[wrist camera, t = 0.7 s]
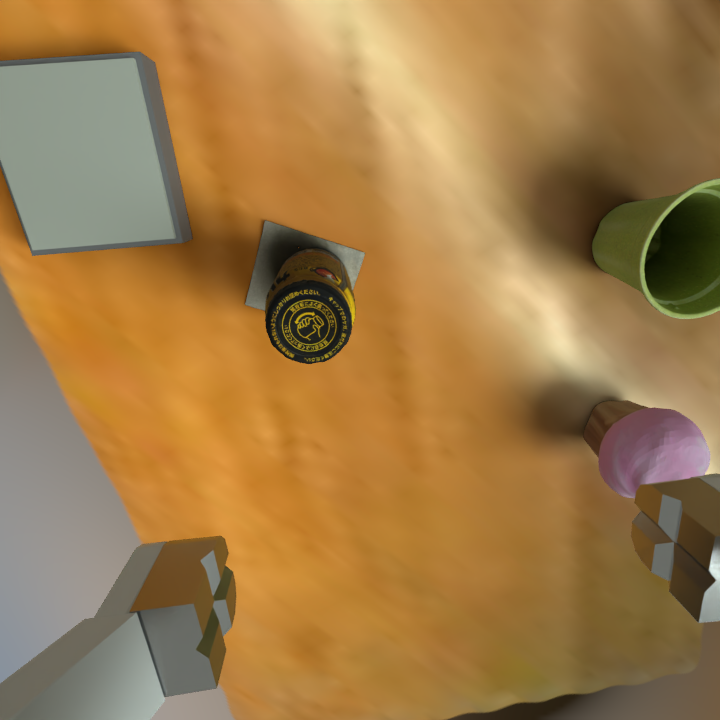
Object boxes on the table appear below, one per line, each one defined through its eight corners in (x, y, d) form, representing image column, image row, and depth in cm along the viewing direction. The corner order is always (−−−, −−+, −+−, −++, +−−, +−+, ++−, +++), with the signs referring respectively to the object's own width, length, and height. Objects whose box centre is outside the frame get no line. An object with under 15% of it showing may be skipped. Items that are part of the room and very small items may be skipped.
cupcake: (557, 455, 45) (616, 523, 36) (574, 380, 42) (644, 434, 33) (636, 452, 46) (715, 519, 37) (659, 379, 43) (751, 431, 34)
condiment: (339, 331, 39) (344, 390, 27) (245, 304, 37) (211, 354, 26) (365, 252, 36) (382, 281, 25) (265, 219, 35) (237, 235, 23)
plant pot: (658, 155, 35) (757, 146, 27) (692, 252, 38) (789, 270, 30) (555, 223, 36) (620, 234, 28) (596, 311, 40) (665, 343, 32)
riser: (-8, 73, 30) (-42, 61, 27) (154, 62, 30) (137, 49, 27) (52, 250, 34) (28, 256, 31) (192, 238, 35) (181, 243, 32)
